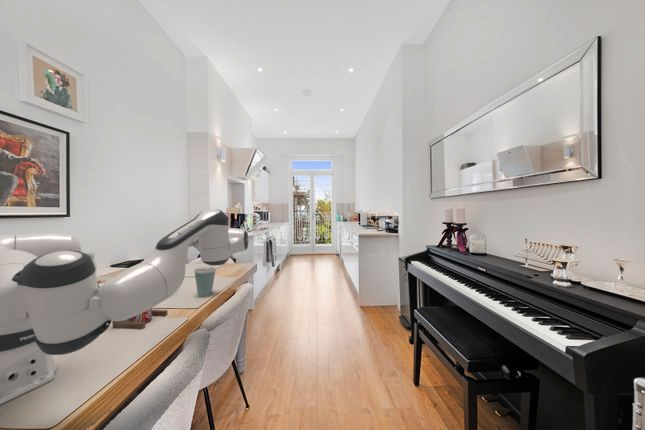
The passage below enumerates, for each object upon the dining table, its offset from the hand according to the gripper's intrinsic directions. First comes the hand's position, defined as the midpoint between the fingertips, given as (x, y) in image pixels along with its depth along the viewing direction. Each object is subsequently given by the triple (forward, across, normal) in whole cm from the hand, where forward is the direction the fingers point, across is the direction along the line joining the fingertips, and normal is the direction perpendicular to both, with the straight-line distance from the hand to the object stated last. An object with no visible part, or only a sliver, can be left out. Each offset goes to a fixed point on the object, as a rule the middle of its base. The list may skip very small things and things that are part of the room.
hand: (170, 239), depth 103 cm
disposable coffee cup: (+10, +42, -34) cm, 55 cm away
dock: (+18, +7, -34) cm, 39 cm away
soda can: (+17, +7, -34) cm, 39 cm away
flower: (+66, +35, -35) cm, 83 cm away
